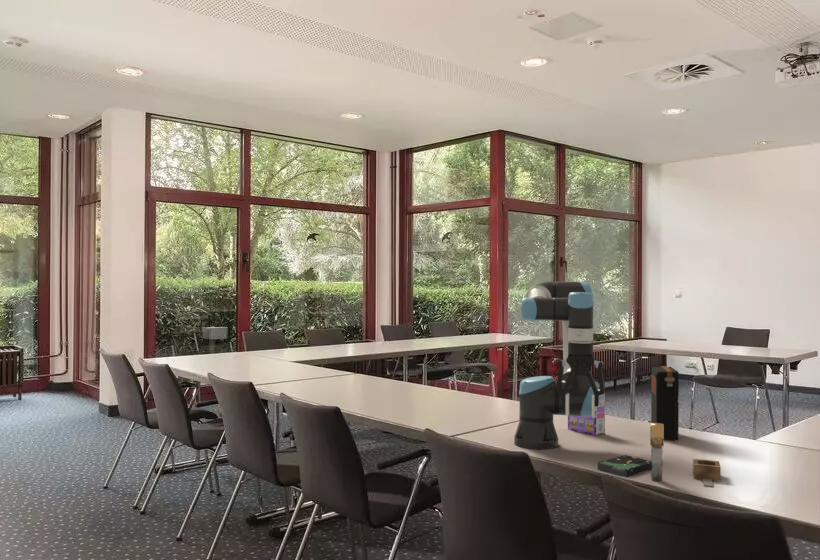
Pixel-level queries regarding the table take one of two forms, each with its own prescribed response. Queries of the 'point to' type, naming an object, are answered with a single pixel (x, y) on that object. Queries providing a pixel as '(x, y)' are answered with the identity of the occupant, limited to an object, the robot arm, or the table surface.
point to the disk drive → (624, 465)
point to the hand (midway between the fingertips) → (580, 415)
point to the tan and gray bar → (656, 450)
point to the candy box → (590, 420)
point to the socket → (706, 469)
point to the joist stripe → (707, 482)
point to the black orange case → (665, 400)
